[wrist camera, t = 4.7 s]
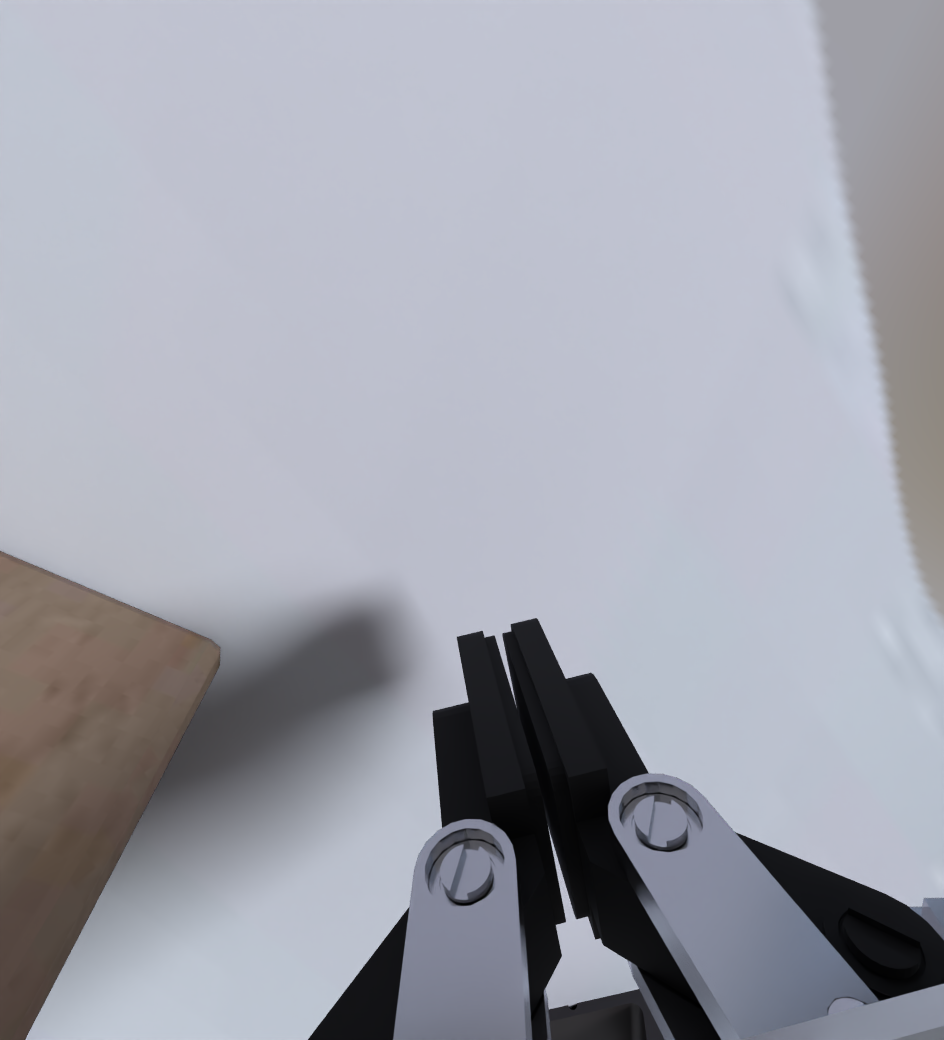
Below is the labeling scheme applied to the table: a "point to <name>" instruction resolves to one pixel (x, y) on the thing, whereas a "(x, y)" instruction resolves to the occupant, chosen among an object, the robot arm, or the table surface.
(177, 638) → the wooden block
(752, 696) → the table surface
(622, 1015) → the phone stand
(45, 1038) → the table surface
